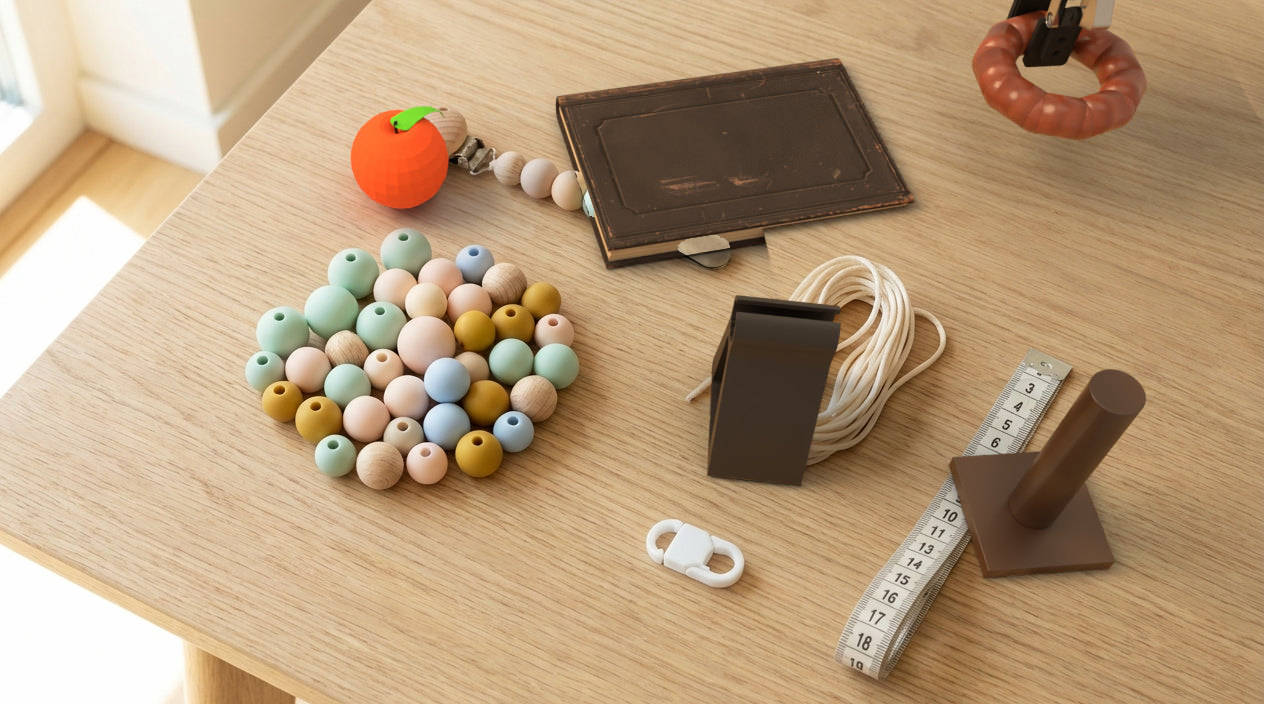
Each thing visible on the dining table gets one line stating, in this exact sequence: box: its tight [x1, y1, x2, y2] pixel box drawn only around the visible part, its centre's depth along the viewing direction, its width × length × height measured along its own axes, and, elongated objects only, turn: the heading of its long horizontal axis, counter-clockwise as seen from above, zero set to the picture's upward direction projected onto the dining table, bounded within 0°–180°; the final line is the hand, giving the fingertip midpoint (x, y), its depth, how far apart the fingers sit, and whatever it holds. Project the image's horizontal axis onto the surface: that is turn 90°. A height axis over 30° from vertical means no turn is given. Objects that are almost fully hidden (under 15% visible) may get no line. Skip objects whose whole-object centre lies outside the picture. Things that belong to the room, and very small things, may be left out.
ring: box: [971, 11, 1148, 141], centre depth 86 cm, size 12×12×3 cm
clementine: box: [350, 105, 450, 210], centre depth 87 cm, size 8×7×7 cm
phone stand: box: [706, 294, 842, 486], centre depth 75 cm, size 9×6×12 cm, turn 174°
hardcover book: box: [555, 57, 916, 270], centre depth 92 cm, size 16×23×2 cm
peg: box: [948, 368, 1147, 579], centre depth 71 cm, size 8×8×14 cm
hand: (1035, 43), depth 90 cm, fingers closed on ring, 3 cm apart
